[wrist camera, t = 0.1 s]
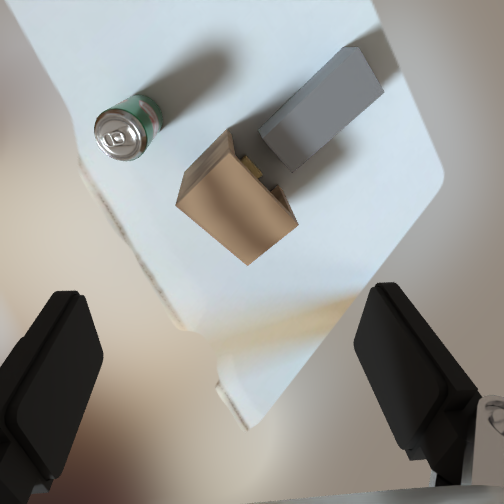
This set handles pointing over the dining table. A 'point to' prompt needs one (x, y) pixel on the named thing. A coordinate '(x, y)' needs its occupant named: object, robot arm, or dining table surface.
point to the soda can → (128, 127)
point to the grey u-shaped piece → (322, 108)
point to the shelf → (234, 202)
